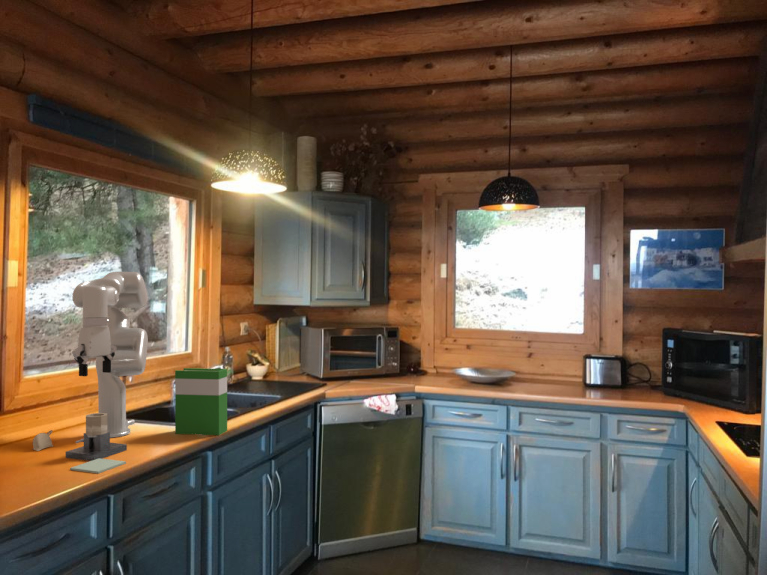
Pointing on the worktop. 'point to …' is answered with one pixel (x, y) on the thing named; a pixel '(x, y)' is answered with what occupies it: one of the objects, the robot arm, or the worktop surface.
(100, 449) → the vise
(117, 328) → the robot arm
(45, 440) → the decorative ornament
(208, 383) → the green banded box
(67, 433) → the worktop surface
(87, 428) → the hollow octagonal tube
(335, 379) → the worktop surface
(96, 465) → the mat
